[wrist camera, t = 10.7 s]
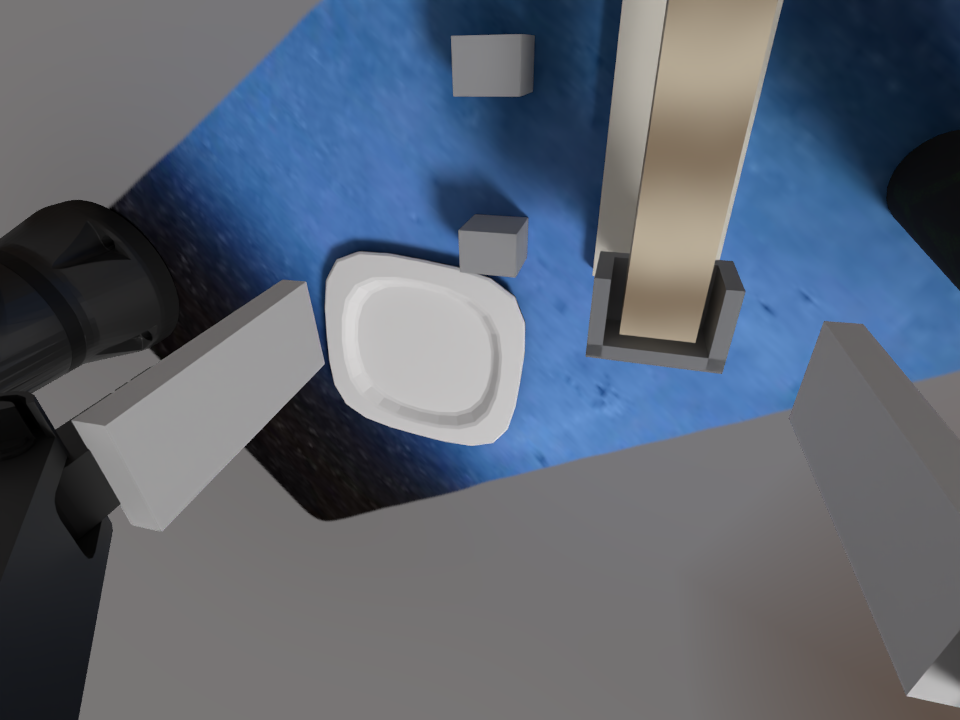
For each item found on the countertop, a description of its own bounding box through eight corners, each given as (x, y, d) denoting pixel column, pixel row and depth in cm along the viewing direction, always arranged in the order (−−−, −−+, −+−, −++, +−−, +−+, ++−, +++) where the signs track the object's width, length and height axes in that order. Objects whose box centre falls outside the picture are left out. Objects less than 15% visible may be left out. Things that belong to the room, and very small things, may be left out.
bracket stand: (593, 273, 37) (574, 355, 27) (634, -100, 26) (627, -188, 16) (710, 283, 35) (734, 375, 25) (806, -115, 24) (915, -225, 14)
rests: (475, 253, 39) (459, 272, 35) (471, 37, 31) (450, 35, 28) (526, 257, 38) (515, 277, 34) (534, 35, 30) (521, 34, 27)
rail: (690, 311, 27) (695, 342, 24) (622, 304, 28) (619, 334, 25) (784, -106, 19) (810, -134, 16) (681, -97, 19) (687, -123, 16)
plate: (327, 233, 42) (316, 239, 40) (540, 275, 39) (536, 284, 37) (340, 403, 52) (331, 413, 50) (510, 448, 49) (506, 460, 47)
